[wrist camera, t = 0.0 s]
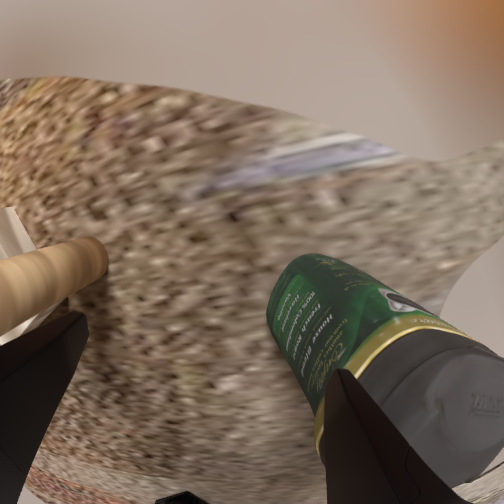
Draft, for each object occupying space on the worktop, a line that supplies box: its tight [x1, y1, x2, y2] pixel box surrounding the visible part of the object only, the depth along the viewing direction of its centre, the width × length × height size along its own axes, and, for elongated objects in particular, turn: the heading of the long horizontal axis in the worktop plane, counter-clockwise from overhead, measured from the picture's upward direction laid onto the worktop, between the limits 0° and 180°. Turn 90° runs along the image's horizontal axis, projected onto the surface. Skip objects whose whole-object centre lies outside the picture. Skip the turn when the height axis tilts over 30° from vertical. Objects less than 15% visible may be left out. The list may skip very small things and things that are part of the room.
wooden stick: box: [0, 237, 108, 337], centre depth 17 cm, size 4×4×16 cm
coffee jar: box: [266, 254, 504, 488], centre depth 16 cm, size 10×8×19 cm
